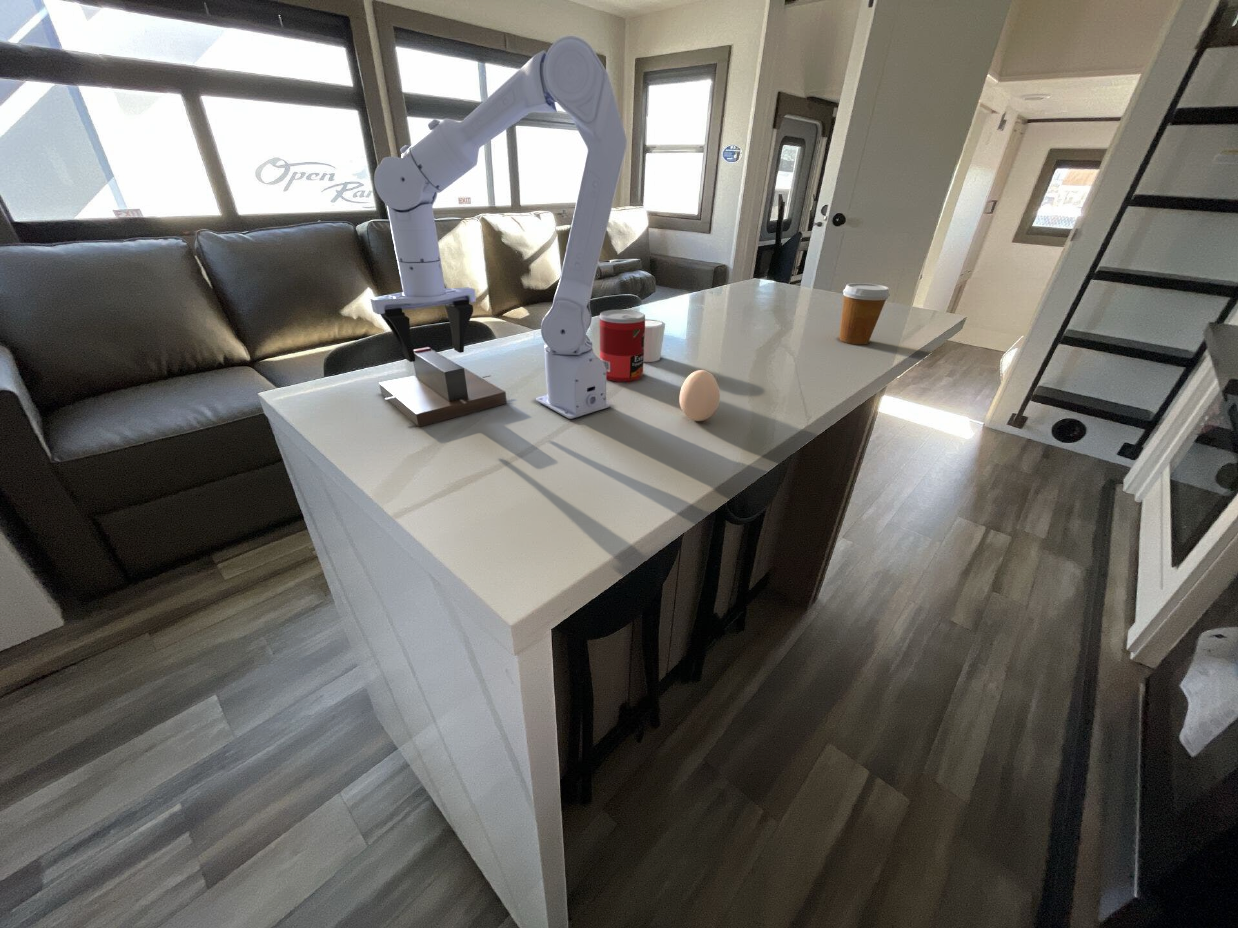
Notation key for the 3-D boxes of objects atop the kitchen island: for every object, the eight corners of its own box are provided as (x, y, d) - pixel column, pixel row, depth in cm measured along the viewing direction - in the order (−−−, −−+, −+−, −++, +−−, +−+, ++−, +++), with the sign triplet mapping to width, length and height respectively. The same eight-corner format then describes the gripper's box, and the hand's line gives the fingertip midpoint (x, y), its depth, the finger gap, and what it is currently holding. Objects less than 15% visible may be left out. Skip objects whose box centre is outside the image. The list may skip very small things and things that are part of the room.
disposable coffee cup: (836, 345, 110) (850, 289, 104) (828, 334, 118) (840, 282, 112) (881, 347, 108) (897, 291, 102) (869, 336, 116) (884, 283, 111)
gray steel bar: (468, 396, 74) (463, 366, 72) (449, 401, 72) (444, 370, 70) (434, 374, 83) (429, 346, 80) (416, 377, 81) (410, 349, 79)
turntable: (517, 402, 78) (516, 389, 77) (409, 431, 68) (405, 417, 67) (469, 374, 89) (467, 362, 88) (370, 395, 79) (366, 383, 78)
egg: (722, 427, 71) (728, 376, 67) (683, 429, 70) (688, 378, 66) (709, 411, 76) (715, 363, 72) (673, 412, 75) (677, 364, 71)
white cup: (669, 356, 100) (671, 322, 97) (652, 365, 95) (654, 329, 92) (640, 350, 103) (641, 317, 100) (622, 358, 98) (623, 323, 95)
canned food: (639, 384, 86) (641, 320, 80) (595, 380, 87) (594, 317, 82) (645, 370, 92) (648, 310, 87) (604, 367, 94) (604, 308, 88)
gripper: (456, 254, 75) (468, 341, 82) (355, 260, 67) (377, 357, 73) (477, 259, 70) (488, 351, 77) (371, 266, 62) (393, 369, 69)
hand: (435, 355), depth 75 cm, fingers open, 7 cm apart
